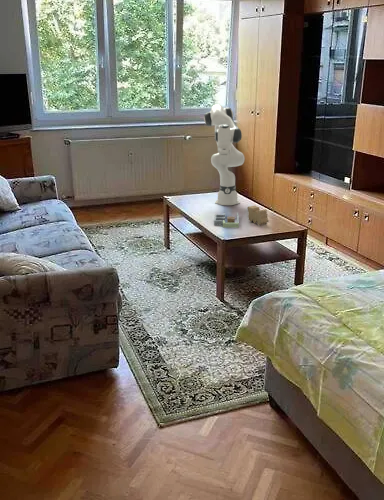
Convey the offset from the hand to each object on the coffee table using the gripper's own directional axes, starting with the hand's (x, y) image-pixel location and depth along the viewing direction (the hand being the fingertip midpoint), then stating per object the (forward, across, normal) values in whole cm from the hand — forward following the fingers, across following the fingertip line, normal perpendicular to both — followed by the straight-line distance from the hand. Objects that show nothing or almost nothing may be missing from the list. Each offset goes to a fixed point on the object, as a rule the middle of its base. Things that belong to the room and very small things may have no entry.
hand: (224, 169), depth 355 cm
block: (+33, +18, +5) cm, 38 cm away
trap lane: (+33, +12, +2) cm, 35 cm away
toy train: (+33, +14, +23) cm, 43 cm away
